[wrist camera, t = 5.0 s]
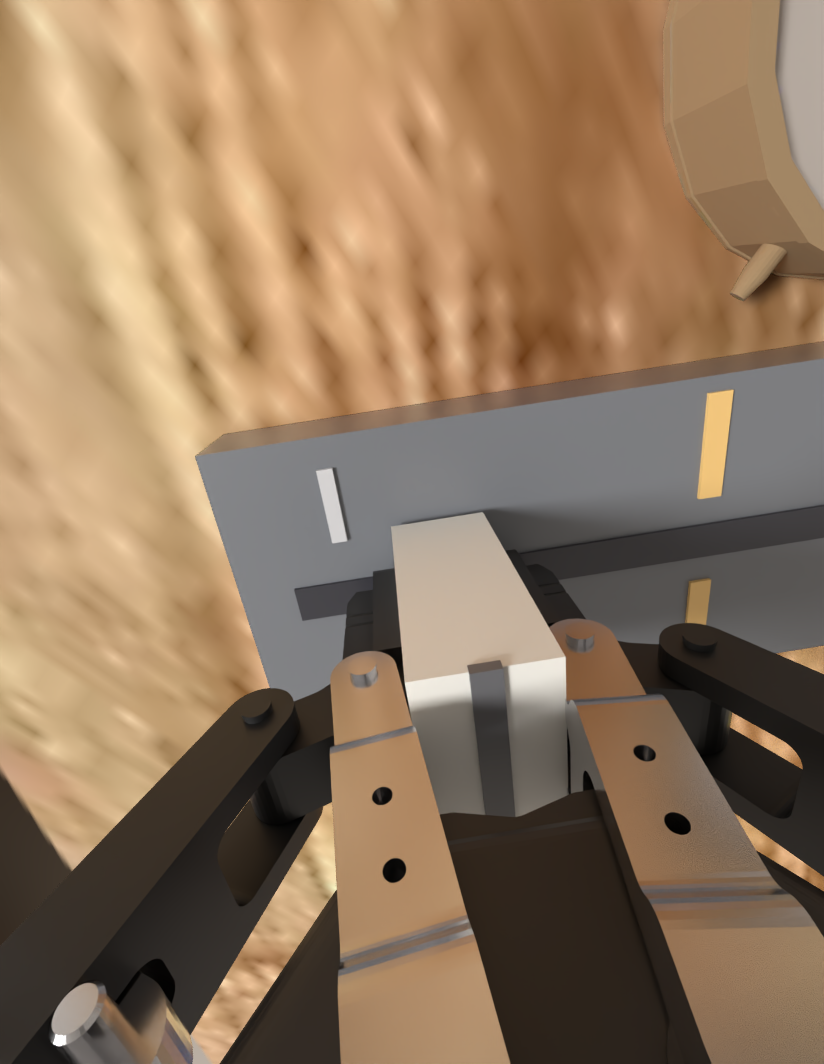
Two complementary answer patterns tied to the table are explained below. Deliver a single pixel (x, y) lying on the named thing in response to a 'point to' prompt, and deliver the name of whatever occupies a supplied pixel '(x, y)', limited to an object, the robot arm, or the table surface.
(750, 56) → the alarm clock
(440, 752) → the fader knob
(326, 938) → the robot arm
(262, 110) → the table surface
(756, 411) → the fader console
